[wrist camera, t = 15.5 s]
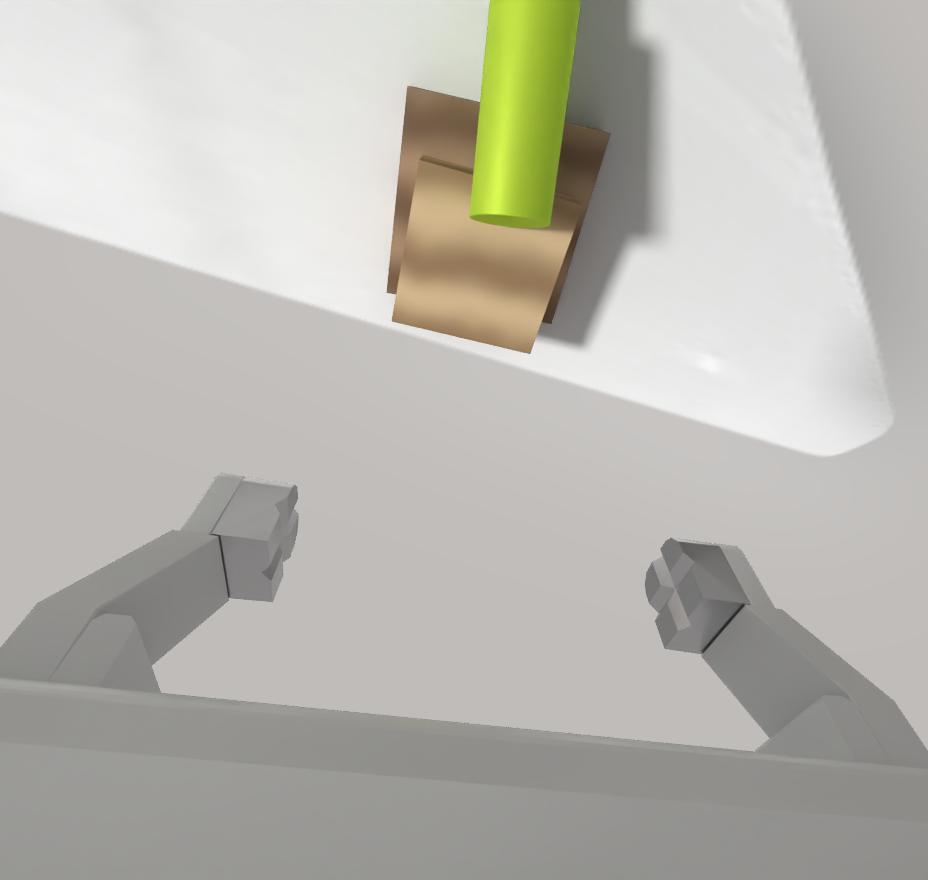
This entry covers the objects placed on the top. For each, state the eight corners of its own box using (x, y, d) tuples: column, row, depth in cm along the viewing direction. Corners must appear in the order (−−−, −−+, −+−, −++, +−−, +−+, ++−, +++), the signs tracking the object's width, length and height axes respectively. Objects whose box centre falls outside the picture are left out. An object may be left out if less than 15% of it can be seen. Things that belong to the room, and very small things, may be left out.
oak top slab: (422, 154, 40) (419, 159, 37) (575, 198, 41) (582, 206, 38) (396, 307, 47) (391, 321, 44) (526, 338, 49) (530, 353, 46)
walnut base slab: (412, 86, 40) (407, 86, 37) (600, 130, 41) (610, 133, 39) (391, 280, 49) (386, 292, 46) (546, 310, 51) (551, 323, 48)
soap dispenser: (537, 232, 40) (578, -80, 34) (558, 221, 33) (615, -167, 27) (465, 223, 39) (495, -95, 33) (472, 211, 33) (511, -188, 27)
